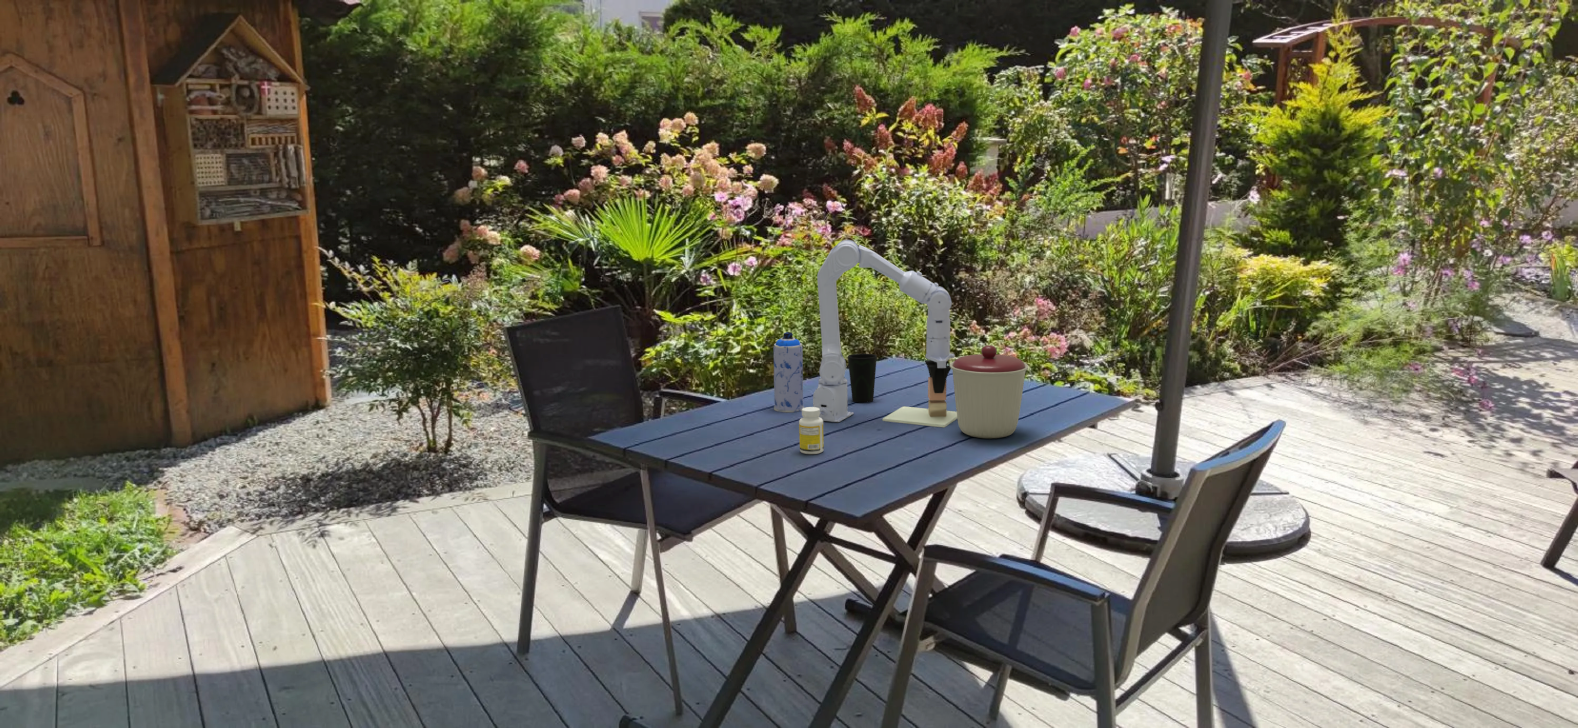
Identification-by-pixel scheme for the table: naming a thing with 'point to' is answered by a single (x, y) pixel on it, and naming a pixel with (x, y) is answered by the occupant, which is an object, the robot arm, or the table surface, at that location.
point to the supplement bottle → (811, 431)
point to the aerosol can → (788, 374)
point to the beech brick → (937, 408)
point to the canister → (988, 393)
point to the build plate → (920, 417)
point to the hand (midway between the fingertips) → (937, 390)
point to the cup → (862, 376)
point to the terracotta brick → (935, 395)
